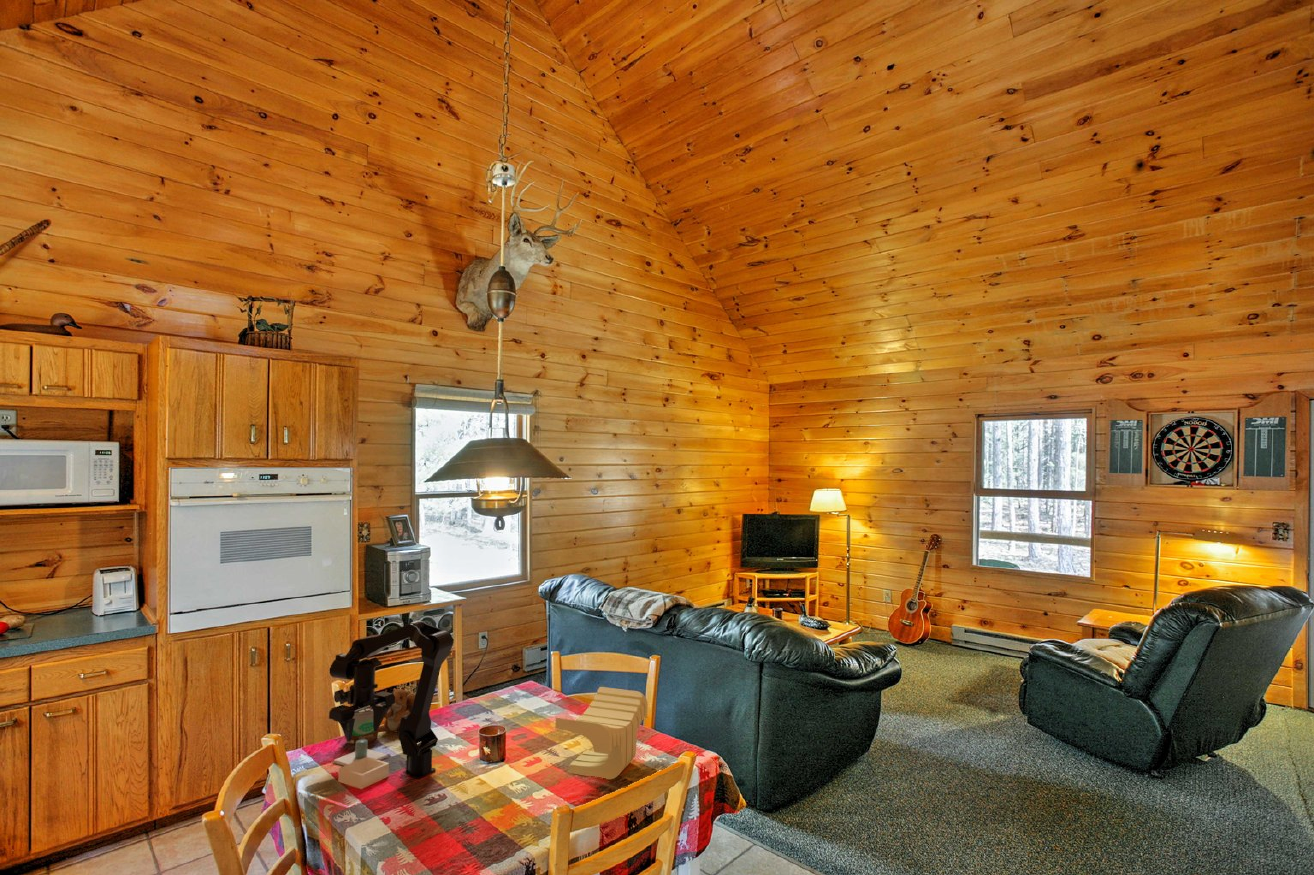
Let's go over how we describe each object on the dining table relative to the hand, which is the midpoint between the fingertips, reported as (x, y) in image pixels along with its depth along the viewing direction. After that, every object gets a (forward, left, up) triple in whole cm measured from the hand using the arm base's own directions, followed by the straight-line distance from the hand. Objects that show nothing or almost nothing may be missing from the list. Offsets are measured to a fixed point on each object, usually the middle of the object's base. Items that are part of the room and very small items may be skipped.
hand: (362, 736), depth 198 cm
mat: (0, 0, -7) cm, 7 cm away
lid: (0, 0, -7) cm, 7 cm away
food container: (+11, -11, -8) cm, 17 cm away
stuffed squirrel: (+11, -25, -8) cm, 28 cm away
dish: (-11, +8, -7) cm, 15 cm away
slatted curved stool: (-63, -31, -8) cm, 70 cm away
